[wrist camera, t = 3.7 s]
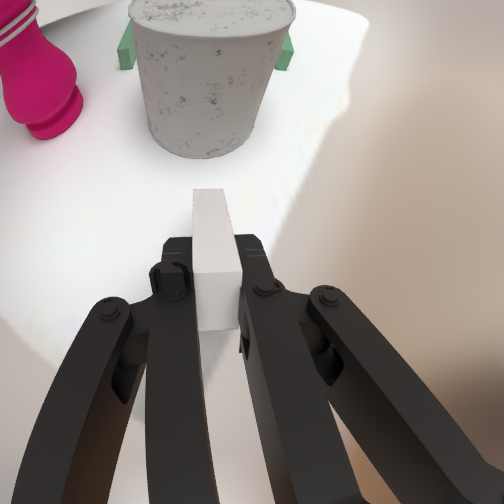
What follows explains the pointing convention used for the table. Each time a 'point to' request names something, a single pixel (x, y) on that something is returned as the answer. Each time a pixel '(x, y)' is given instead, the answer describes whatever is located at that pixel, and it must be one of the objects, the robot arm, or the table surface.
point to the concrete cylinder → (206, 68)
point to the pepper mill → (35, 73)
